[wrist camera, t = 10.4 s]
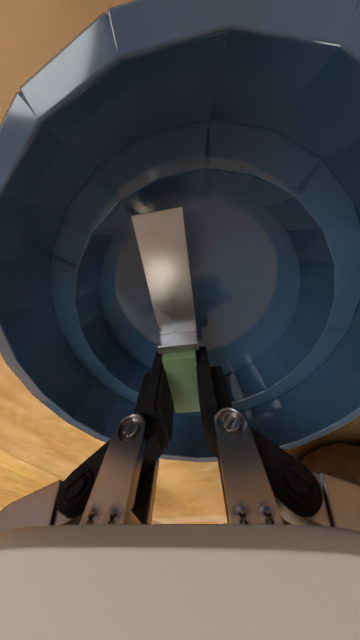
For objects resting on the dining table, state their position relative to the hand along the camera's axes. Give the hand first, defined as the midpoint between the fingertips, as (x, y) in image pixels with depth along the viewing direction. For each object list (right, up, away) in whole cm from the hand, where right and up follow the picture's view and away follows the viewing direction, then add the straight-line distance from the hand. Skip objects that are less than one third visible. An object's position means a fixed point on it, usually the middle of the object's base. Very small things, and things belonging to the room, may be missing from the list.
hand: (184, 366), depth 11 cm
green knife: (0, +3, -1) cm, 3 cm away
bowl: (+1, +4, +1) cm, 4 cm away
